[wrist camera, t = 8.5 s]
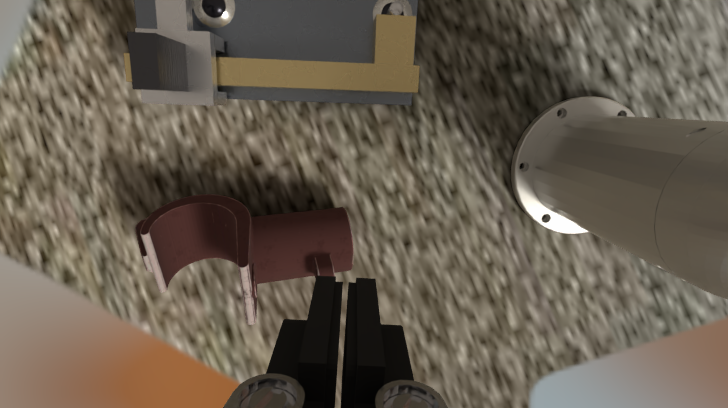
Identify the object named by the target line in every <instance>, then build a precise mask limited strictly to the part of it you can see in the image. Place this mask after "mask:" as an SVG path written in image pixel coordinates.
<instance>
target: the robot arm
mask: <svg viewBox="0 0 728 408" xmlns="http://www.w3.org/2000/svg"><path fill="white" fill-rule="evenodd" d="M558 111H559V114H558V115H557V112H558ZM521 163H522V167H521V168H519V166H520V164H521ZM511 182H512V187H513V192H514V195H515V197H516V199H517V201H518V204H519V205H520V207H521V208H522V209H523V211H524V212H525V213H526V214H527V215H528V216H529V217H530V218H531V219H532V220H533V221H535V222H536V223H538V224H539V225H541V226H543V227H545V228H547V229H549V230H552V231H555V232H559V233H564V234H580V233H585V232H591V233H593V234H595V235H597V236H599V237H601V238H602V239H604V240H606V241H608V242H610V243H612V244H614V245H616V246H618V247H620V248H622V249H624V250H626V251H628V252H630V253H631V254H633V255H635V256H637V257H639V258H641V259H643V260H645V261H647V262H649V263H651V264H653V265H655V266H657V267H659V268H660V269H662V270H664V271H666V272H668V273H670V274H672V275H674V276H676V277H678V278H680V279H682V280H684V281H686V282H688V283H690V284H692V285H694V286H696V287H698V288H700V289H702V290H704V291H706V292H709V293H711V294H713V295H716V296H718V297H722V298H725V299H728V122H722V121H703V120H684V119H665V118H647V117H636V116H635V115H634V114H633V113H632V112H631V111H630V109H628V108H627V107H625V106H624V105H622V104H621V103H619V102H616V101H614V100H611V99H608V98H603V97H596V96H583V97H576V98H570V99H567V100H564V101H562V102H559V103H556V104H555V105H553V106H551V107H550V108H548V109H546V110H544V111H543V112H542V113H541V114H540V115H539V116H537V117H536V118H535V119H534V120H533V121H532V122H531V124H530V125H529V126H528V127H527V128H526V130H525V131H524V133H523V135H522V136H521V138H520V140H519V141H518V144H517V146H516V149H515V152H514V155H513V160H512V166H511ZM543 215H544V216H543ZM542 216H543V217H542ZM335 281H336V277H334V276H317V277H316V281H315V286H314V291H313V295H312V300H311V305H310V309H309V314H308V319H307V320H290V319H284V321H283V323H282V326H281V329H280V332H279V335H278V338H277V341H276V345H275V348H274V351H273V354H272V357H271V360H270V363H269V366H268V369H267V372H266V374H263V375H258V376H255V377H252V378H250V379H248V380H246V381H245V382H243V383H241V384H240V385H239V386H238V387H237V388H236V389H235V391H234V392H233V393H232V395H231V396H230V398H229V399H228V401H227V403H226V404H225V406H224V407H223V408H335V393H336V378H337V363H338V347H339V332H340V316H341V301H342V285H343V282H335ZM341 408H448V407H447V405H446V403H445V401H444V400H443V398H442V397H441V396H440V394H439V393H437V392H436V391H435V390H434V389H433V388H431V387H429V386H427V385H425V384H423V383H420V382H416V381H414V378H413V373H412V369H411V364H410V359H409V355H408V350H407V345H406V341H405V336H404V331H403V327H402V326H401V325H382V324H381V323H380V315H379V306H378V298H377V289H376V281H375V279H368V278H356V283H350V282H349V286H348V300H347V314H346V328H345V342H344V357H343V372H342V393H341Z"/></svg>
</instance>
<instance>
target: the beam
mask: <svg viewBox="0 0 728 408" xmlns="http://www.w3.org/2000/svg"><path fill="white" fill-rule="evenodd" d="M403 9H404V7H403V4H402V3H401V2H400V1H394V2H392V4H391V5H390V7H389V9H388V11H387V13H386V15H383V14H376V16H375V19H374V23H373V50H372V64H370V63H347V62H323V61H300V60H277V59H253V58H230V57H216V70H217V86H239V87H265V88H292V89H318V90H345V91H371V92H398V93H417V92H418V84H419V69H420V66H417V65H413V62H414V46H415V30H416V16H402V15H401V13H402V12H403ZM124 62H125V71H126V81H128V82H132V75H131V65H130V55H129V53H124Z"/></svg>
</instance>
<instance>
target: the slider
mask: <svg viewBox="0 0 728 408" xmlns="http://www.w3.org/2000/svg"><path fill="white" fill-rule="evenodd" d="M155 4H156V16H157V28H158V29H144V28H135V32H127V36H128V46H129V55H130V65H131V75H132V85H133V89H141V95H142V103H155V104H184V105H213V106H214V105H227V93H226V92H218V89H217V70H216V53H225V51H224V39H222V38H220V37H219V36H217V35H215V34H213V33H211V32H208V31H193V20H192V9H193V8H194V7H195V1H194V0H155Z"/></svg>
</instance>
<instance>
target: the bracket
mask: <svg viewBox="0 0 728 408" xmlns="http://www.w3.org/2000/svg"><path fill="white" fill-rule="evenodd" d="M135 231H136V235H137V239H138V244H139V248H140V252H141V256H142V258H143V261H144V264H145V267H146V270H147V271H151V272H153V273H154V276H155V279H156V282H157V285H158V288H159V291H160V292H165V291H166V290H167V288H168V284H169V282H170V280H171V279H172V277H173V276H174V275H175V274H176V273H177V272H178V271H179V270H180V269H182V268H183V267H185V266H187V265H188V264H191V263H193V262H195V261H199V260H202V259H208V258H221V259H226V260H229V261H232V262H234V263H235V264H237V265H238V271H239V277H240V284H241V290H242V297H243V303H244V309H245V316H246V322H247V324H249V325H252V324H254V323H255V322H256V310H257V284H260V283H267V282H274V281H280V280H287V279H294V278H301V277H308V276H315V278H316V277H317V276H334V277H335V274H334V273H335V272H342V271H349V270H351V269H352V266H353V239H352V232H351V226H350V222H349V218H348V215H347V212H346V210H345V209H344V208H343V207H340V208H331V209H321V210H311V211H302V212H292V213H283V214H273V215H264V216H254V217H250V213H249V211H248V209H247V208H246V207H245V206H244V205H243V204H242V203H240V202H239V201H237V200H235V199H233V198H230V197H226V196H222V195H212V194H204V195H194V196H188V197H184V198H181V199H177V200H175V201H172V202H170V203H167V204H165V205H164V206H162V207H160V208H158V209H157V210H156V211H154V212H153V213H152V214H151V215H150V216H149V217H148V218H146V219H143V220H141V221H140V222H139V223H138V224H137V225H136V227H135Z"/></svg>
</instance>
